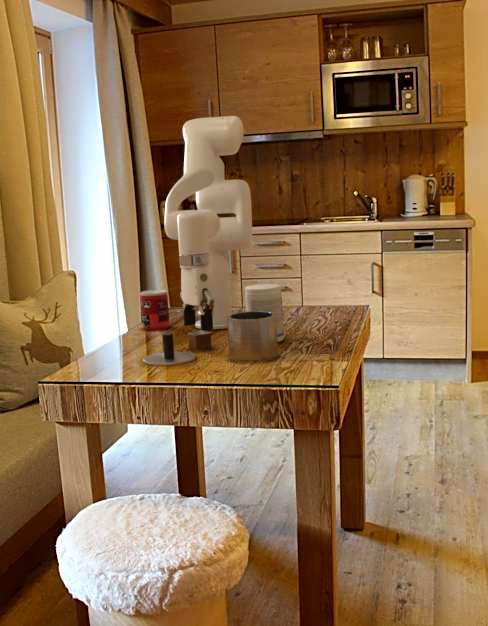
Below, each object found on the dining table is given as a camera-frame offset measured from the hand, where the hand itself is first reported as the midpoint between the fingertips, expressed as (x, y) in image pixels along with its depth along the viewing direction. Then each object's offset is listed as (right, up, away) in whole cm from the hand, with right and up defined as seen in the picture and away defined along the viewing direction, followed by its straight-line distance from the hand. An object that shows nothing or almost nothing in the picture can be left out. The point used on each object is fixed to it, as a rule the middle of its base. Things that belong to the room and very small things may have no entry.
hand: (198, 327), depth 212 cm
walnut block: (+1, -6, +2) cm, 6 cm away
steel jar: (+13, -7, -11) cm, 19 cm away
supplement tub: (+18, -4, +7) cm, 20 cm away
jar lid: (-7, -8, -10) cm, 14 cm away
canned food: (-12, -1, +34) cm, 36 cm away
